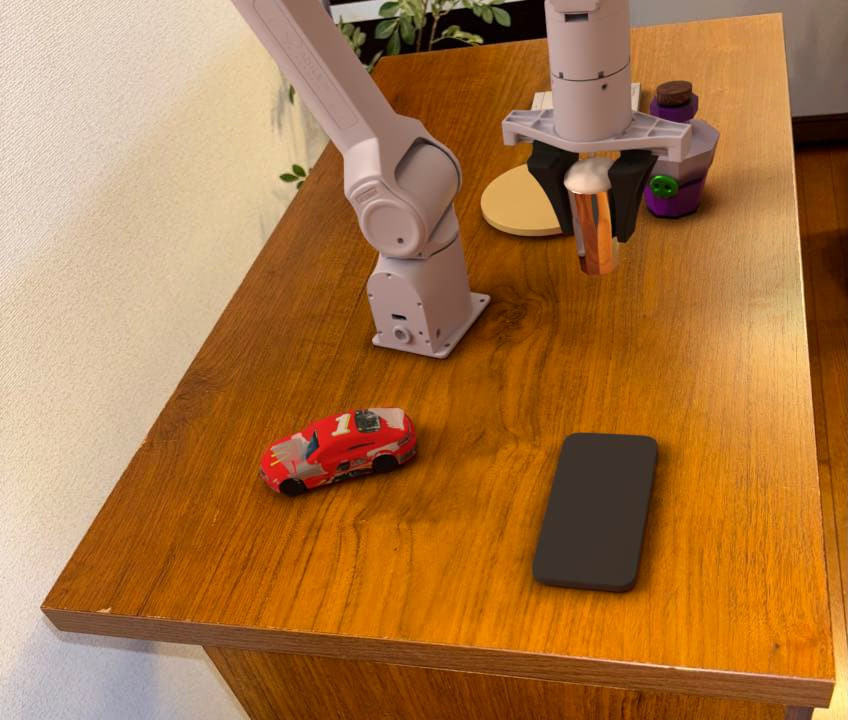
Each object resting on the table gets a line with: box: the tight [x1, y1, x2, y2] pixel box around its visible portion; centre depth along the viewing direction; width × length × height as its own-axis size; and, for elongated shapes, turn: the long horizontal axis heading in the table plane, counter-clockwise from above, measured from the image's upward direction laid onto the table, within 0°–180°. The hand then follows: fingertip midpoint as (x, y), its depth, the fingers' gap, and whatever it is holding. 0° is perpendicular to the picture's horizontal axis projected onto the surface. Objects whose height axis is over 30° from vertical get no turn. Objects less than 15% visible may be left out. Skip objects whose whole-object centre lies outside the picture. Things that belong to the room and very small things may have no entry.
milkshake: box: [564, 152, 621, 277], centre depth 79 cm, size 4×5×10 cm
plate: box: [480, 158, 582, 237], centre depth 103 cm, size 14×14×1 cm
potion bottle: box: [643, 79, 721, 220], centre depth 94 cm, size 9×9×12 cm
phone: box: [531, 431, 659, 592], centre depth 73 cm, size 7×1×15 cm
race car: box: [259, 406, 419, 497], centre depth 80 cm, size 13×5×4 cm, turn 98°
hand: (598, 232), depth 80 cm, fingers closed on milkshake, 4 cm apart
